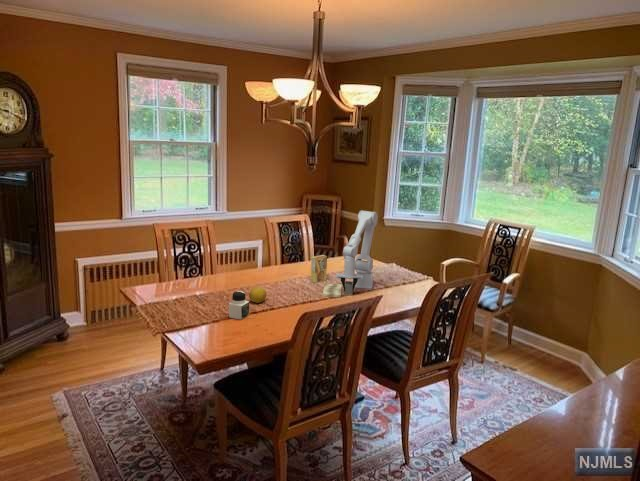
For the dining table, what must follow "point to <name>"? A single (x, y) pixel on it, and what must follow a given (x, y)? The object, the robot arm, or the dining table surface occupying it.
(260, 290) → the fruit
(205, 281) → the dining table surface
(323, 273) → the candy box
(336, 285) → the board
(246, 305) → the medicine bottle
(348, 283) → the sanding block
